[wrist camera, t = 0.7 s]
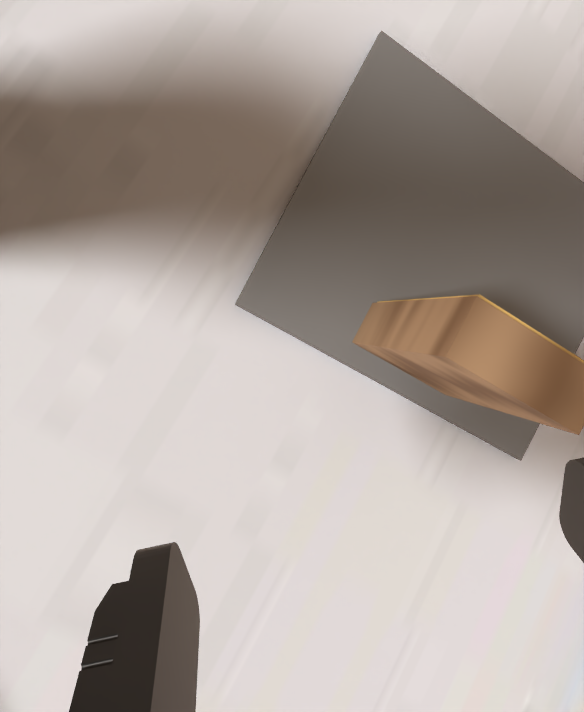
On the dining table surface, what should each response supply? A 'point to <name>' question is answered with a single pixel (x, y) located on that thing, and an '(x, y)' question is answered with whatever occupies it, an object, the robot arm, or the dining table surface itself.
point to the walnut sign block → (479, 357)
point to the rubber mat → (423, 229)
